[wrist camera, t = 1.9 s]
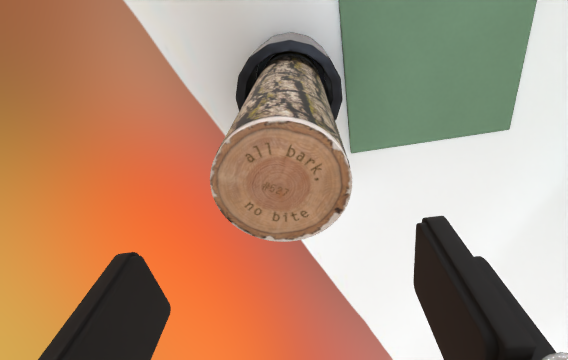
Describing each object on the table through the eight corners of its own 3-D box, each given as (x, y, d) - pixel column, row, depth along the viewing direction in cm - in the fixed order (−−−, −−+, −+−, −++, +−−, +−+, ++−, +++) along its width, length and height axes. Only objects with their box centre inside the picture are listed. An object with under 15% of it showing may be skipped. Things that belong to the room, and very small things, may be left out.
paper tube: (273, 39, 33) (232, 94, 12) (327, 62, 34) (380, 153, 13) (255, 94, 37) (195, 218, 15) (304, 114, 38) (315, 256, 16)
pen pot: (240, 42, 34) (223, 53, 26) (326, 24, 32) (336, 30, 25) (259, 124, 39) (250, 153, 31) (335, 111, 37) (345, 138, 30)
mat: (336, -22, 30) (337, -22, 30) (547, -69, 28) (552, -70, 27) (350, 151, 40) (351, 153, 40) (507, 128, 38) (509, 129, 37)
